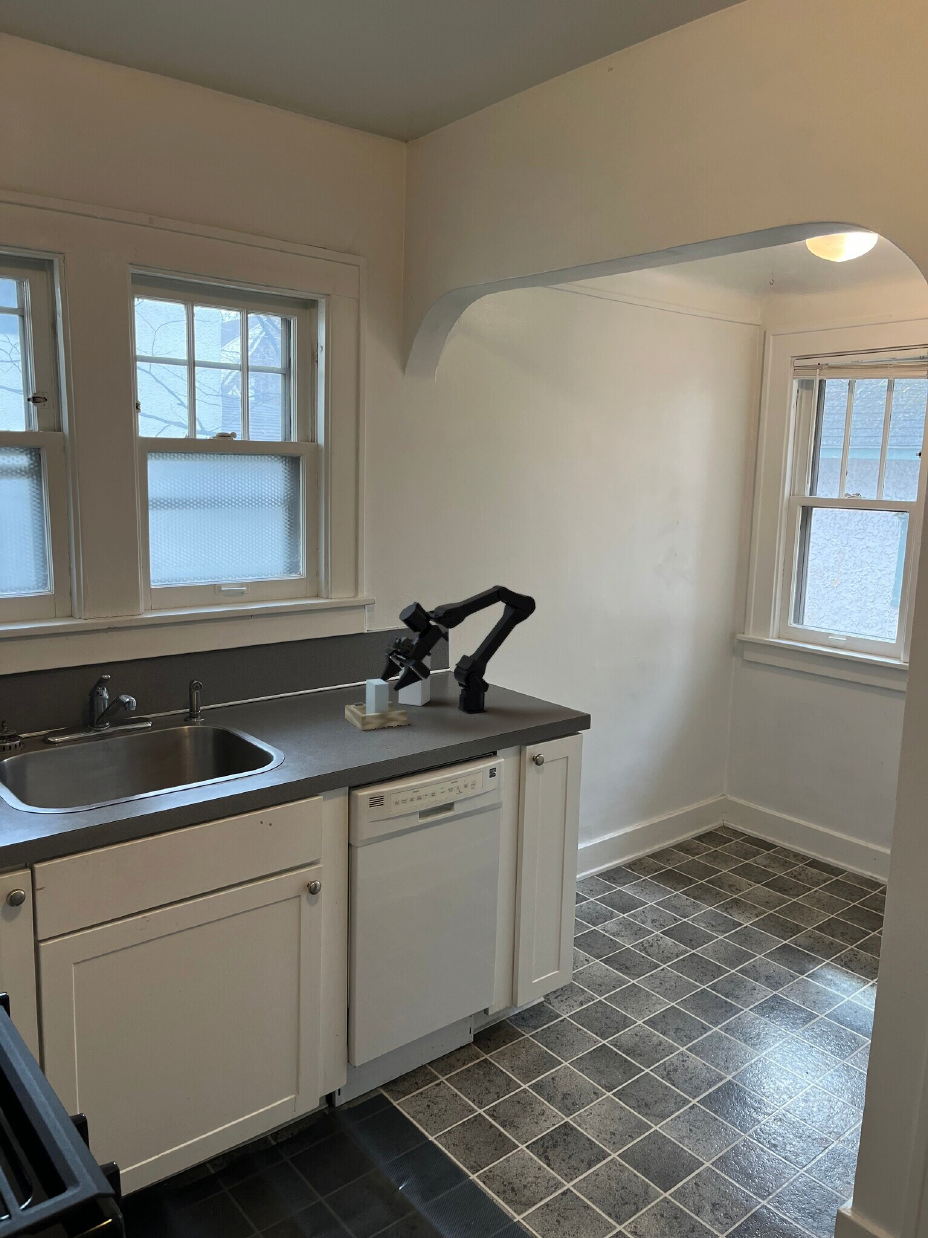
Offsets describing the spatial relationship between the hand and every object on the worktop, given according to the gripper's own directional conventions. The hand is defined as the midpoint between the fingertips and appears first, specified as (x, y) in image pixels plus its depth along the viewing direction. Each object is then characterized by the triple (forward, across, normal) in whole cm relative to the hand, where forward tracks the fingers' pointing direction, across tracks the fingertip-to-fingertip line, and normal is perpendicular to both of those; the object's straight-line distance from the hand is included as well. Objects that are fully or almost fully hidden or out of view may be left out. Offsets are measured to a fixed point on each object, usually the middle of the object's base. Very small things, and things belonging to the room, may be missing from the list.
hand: (387, 686), depth 254 cm
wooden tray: (+9, 0, +5) cm, 10 cm away
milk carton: (-4, -14, +18) cm, 23 cm away
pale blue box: (+8, 0, +4) cm, 9 cm away
